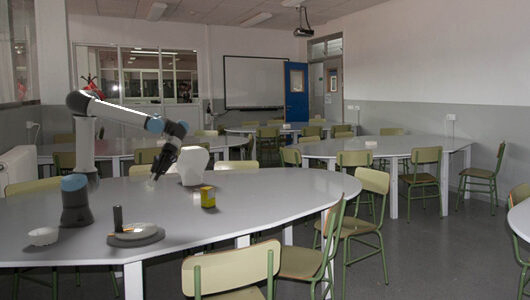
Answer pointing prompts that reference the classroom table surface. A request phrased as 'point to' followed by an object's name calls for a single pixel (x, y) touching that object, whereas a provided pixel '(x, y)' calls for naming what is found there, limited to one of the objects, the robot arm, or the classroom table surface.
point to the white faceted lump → (192, 164)
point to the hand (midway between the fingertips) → (150, 185)
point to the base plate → (118, 243)
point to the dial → (131, 228)
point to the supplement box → (207, 197)
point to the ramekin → (43, 236)
